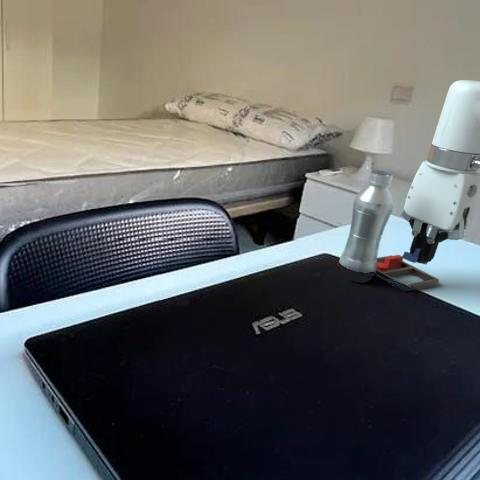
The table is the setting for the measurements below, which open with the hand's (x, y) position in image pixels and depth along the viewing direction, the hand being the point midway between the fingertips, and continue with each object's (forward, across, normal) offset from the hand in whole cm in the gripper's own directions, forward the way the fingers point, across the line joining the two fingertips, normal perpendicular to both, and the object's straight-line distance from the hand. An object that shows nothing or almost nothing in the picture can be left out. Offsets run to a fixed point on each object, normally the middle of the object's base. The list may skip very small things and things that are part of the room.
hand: (419, 259), depth 89 cm
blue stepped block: (0, 0, +1) cm, 1 cm away
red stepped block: (+4, +5, +1) cm, 7 cm away
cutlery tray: (+5, +2, +1) cm, 6 cm away
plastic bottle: (+5, +5, +10) cm, 12 cm away
